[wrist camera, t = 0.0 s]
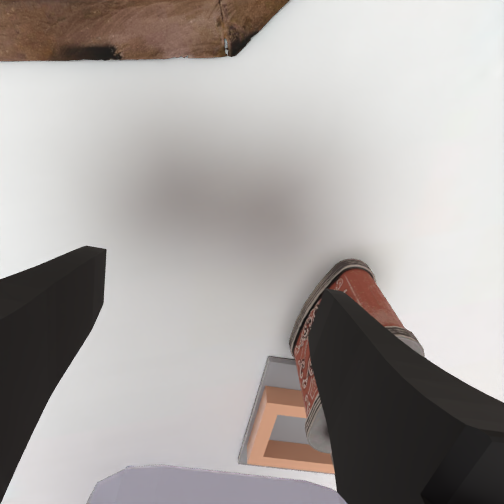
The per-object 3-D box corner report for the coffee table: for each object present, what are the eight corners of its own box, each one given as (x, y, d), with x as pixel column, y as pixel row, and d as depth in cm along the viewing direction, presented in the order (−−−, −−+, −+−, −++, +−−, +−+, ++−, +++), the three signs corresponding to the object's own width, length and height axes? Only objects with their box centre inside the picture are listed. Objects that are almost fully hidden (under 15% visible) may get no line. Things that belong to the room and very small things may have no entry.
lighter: (320, 361, 26) (363, 511, 17) (278, 346, 26) (299, 494, 17) (383, 270, 23) (474, 395, 14) (337, 250, 22) (402, 368, 13)
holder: (374, 473, 32) (382, 497, 30) (238, 458, 30) (238, 482, 29) (426, 379, 27) (439, 401, 25) (268, 356, 26) (270, 377, 24)
